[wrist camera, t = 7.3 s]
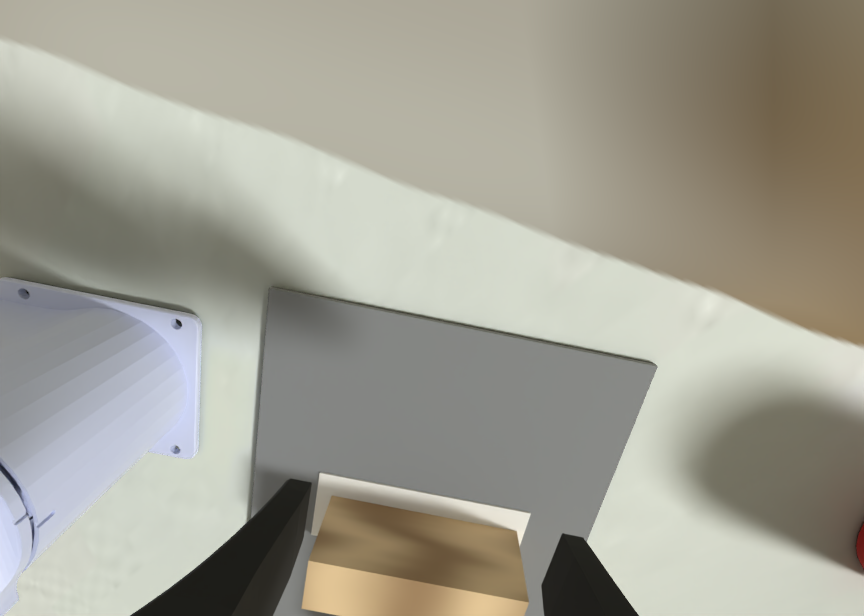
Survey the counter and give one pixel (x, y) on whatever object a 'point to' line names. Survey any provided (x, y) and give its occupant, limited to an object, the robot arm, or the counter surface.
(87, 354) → the robot arm
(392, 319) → the mat
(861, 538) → the canned food
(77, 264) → the counter surface
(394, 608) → the oak T-block
